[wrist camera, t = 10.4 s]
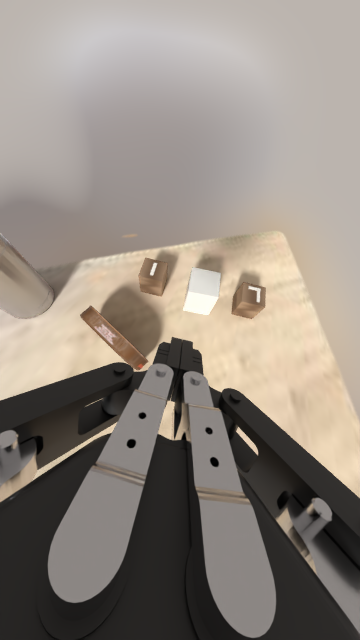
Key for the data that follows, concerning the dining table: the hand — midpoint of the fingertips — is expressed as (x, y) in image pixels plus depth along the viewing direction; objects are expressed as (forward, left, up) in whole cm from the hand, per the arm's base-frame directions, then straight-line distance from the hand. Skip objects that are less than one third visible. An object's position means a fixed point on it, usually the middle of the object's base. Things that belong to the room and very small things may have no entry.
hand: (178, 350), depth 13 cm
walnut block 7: (+14, +21, -25) cm, 35 cm away
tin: (-11, +5, -25) cm, 28 cm away
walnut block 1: (-8, +21, -25) cm, 33 cm away
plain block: (+3, +20, -25) cm, 32 cm away
